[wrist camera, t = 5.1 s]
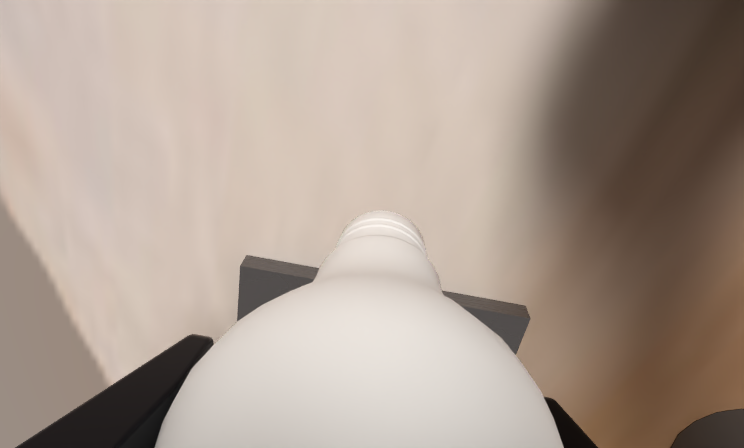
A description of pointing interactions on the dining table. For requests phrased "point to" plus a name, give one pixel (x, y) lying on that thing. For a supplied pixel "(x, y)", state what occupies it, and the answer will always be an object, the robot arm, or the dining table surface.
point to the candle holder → (714, 431)
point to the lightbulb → (361, 363)
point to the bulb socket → (278, 278)
